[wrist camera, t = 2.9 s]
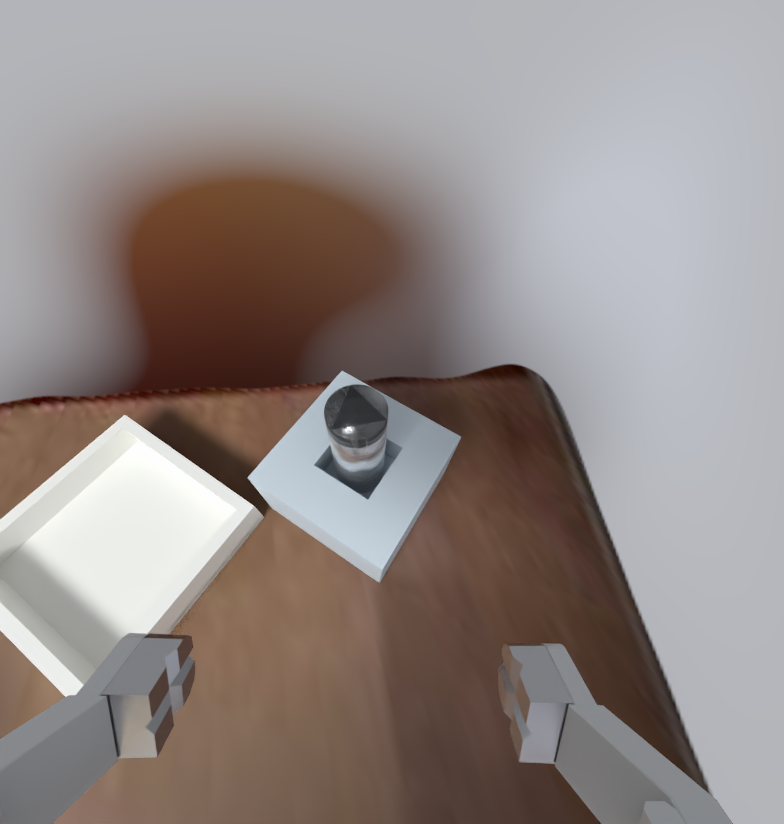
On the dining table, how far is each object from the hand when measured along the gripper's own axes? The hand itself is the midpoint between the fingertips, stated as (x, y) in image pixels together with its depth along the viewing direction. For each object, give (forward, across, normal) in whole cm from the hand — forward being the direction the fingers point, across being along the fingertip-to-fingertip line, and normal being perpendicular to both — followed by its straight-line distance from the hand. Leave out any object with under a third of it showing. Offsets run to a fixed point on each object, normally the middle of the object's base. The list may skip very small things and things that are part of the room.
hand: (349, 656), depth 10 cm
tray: (+21, +20, +12) cm, 32 cm away
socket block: (+25, +1, +8) cm, 26 cm away
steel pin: (+22, +1, +4) cm, 22 cm away
